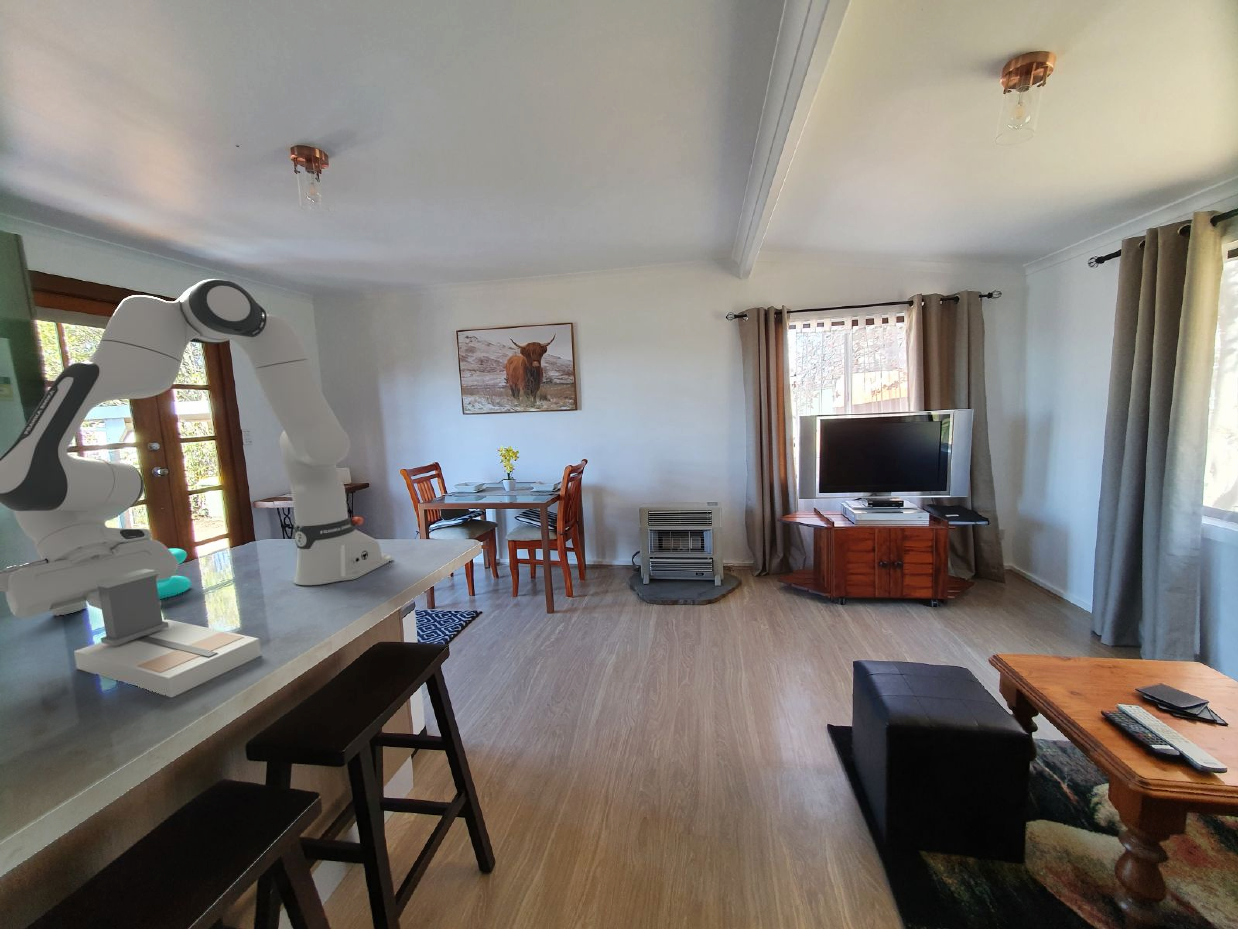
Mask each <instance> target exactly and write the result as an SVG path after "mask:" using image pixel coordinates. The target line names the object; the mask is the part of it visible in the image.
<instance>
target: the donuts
mask: <svg viewBox="0 0 1238 929" xmlns="http://www.w3.org/2000/svg"><path fill="white" fill-rule="evenodd" d="M168 549H169V550H170V552H171V553H172V554H173V555H174V556H175V558H176V559H177V561H178V566H179V565H181V564H182V563H183V562H184V561H185V560H186V559H187V556H188V553H187V551H186V550H184V549H181V548H176V547H175V548H168ZM156 583H157V590H158V596H159V599H160V600H164V598H165V599H168V598H167V597H169V598H171V596H172V597H175V596H178V595H181V594H182V592H183V593H185V592H186V591H188V590H189V589H190V587H191V585H192V580H190V578H188V577H186V576H182V575H173V576H172V577H171V578H168V579H164V580H160V581H157V582H156ZM180 593H181V594H180ZM177 594H178V595H177Z"/></svg>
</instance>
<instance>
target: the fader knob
mask: <svg viewBox="0 0 1238 929" xmlns="http://www.w3.org/2000/svg"><path fill="white" fill-rule="evenodd" d="M155 575H156V570H150V569H142V570H138V571H134V572H131V573H127V574H123V575H119V576H115V577H111V578H107V579H103V580H99V581H96V586H98V591H99V597H100V602H101V608H102V609H101V613H102V614H101V615H102V619H103V620H102V621H103V624H104V630H105V636H104V637H103V636H102V637H100V642H101V643H104V644H108V645H112V646H117V645H119V644H122V643H125V642H128V641H131V640H133V639H136V638H139V637H142V636H145V635H148V634H150V633H153V632H156V631H159V630H162V629H164V628H167V627H169V625H168V622H163V621H164V620H163V616H162V611H161V609H162V608H161V602H160V600H159V596H158V590H157V583H156V577H155Z"/></svg>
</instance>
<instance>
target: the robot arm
mask: <svg viewBox="0 0 1238 929" xmlns="http://www.w3.org/2000/svg"><path fill="white" fill-rule="evenodd" d="M105 326H106V327H105V329H104V331H103V333H102V336H101V338H100V341H99V344H98V346H97V348H96V350H95V351H94V352H93V353H92V354H91V355H90V356H89V357H88V358H87V359H86V360H84V361H83V362H76V363H75V362H74V363H72V364H70V365H68V366H66V367H65V368H64V369H63V370H62V371H61V373H59V374H58V376H57V377H56V378H55V379H54V381H53V383H52V384H51V385H50V387H49V388H48V390H47V391H46V393H45V394H44V396H43V398H42V399H41V401H40V402H39V404H38V405H37V406H36V408H35V410H34V411H33V413H32V414H31V416H30V417H29V420H28V421H27V423H26V424H25V425H24V427H23V429H22V430H21V432H20V433H19V435H18V437H17V438H16V440H15V441H14V442H13V444H12V445H10V448H9V449H7V451H6V452H5V453H4V454H3V455H1V457H0V503H1V504H2V505H3V506H5V507H6V508H8V509H10V510H12V511H13V514H14V517H15V519H16V521H17V524H18V525H19V527H20V528H21V530H22V531H23V533H24V534H25V536H26V537H28V538H29V539H31V540H33V542H34V548H35V551H36V552H37V554H38V556H39V557H40V560H35V561H30V562H27V563H23V564H18V565H11V566H6V567H4V568H3V569H2V570H1V571H0V591H1V592H4V593H5V597H6V601H7V604H8V607H9V609H10V612H11V613H12V615H13V616H15V617H18V618H22V619H26V618H30V617H33V616H37V615H41V614H46V613H48V612H52V610H56V609H60V608H63V607H67V606H70V605H74V604H78V603H81V602H85V601H86V603H87V604H88V605H89V606H91V607H94V608H97V609H100V610H102V608H101V602H100V597H99V591H98V586H96V581H99V580H103V579H107V578H111V577H115V576H119V575H123V574H127V573H131V572H134V571H138V570H142V569H150V570H156V575H155V577H156V582H157V581H160V580H164V579H168V578H171V577H172V576H175V573H176V572H177V569H178V567H179V565H178V561H177V559H176V558H175V556H174V555H173V554H172V553H171V552H170V550H169V549H170V548H168V547H167V546H166V545H165V544H164V543H162V542H161V541H159V540H156V539H152V536H153V533H152V532H151V530H149V529H148V528H123V527H122V528H120V527H119V528H118V527H108V526H107V525H106V522H107V521H111V520H113V519H115V518H117V517H118V516H120V515H121V514H123V513H124V512H126V511H127V510H129V509H130V508H132V506H134V505H135V504H136V503H138V501H139V500H140V499H141V498H142V496H143V493H144V489H145V487H144V486H145V484H144V480H143V479H144V478H143V476H142V474H141V473H140V471H139V470H138V469H137V468H136V467H135V466H133V465H131V464H129V463H124V462H119V461H114V460H113V461H112V460H108V459H107V460H106V459H100V458H91V457H84V456H78V455H71V454H68V448H69V446H70V445H71V443H72V442H73V440H74V438H75V436H76V434H77V432H78V431H79V429H80V428H81V426H82V424H83V422H84V421H85V420H86V418H87V416H88V414H89V413H90V411H92V410H93V409H94V408H95V407H96V406H98V405H100V404H103V403H106V402H109V401H117V400H134V399H135V400H136V399H137V400H139V399H146V398H151V397H155V396H158V395H160V394H163V393H165V392H166V391H168V390H169V389H171V387H172V386H173V385H174V383H175V382H176V380H177V378H178V375H179V372H180V369H181V364H182V362H183V357H184V354H185V350H186V348H187V347H188V345H189V343H197V344H204V345H205V344H206V345H207V344H208V345H216V344H221V343H225V342H227V341H230V340H232V341H233V342H234V343H236V344H237V345H238V346H240V348H241V349H242V350H243V351H244V353H245V354H246V355H247V357H248V360H249V363H250V365H251V369H252V370H253V372H254V373H253V374H254V375H255V378H256V379H257V382H258V385H259V387H260V389H261V391H262V394H263V396H264V399H265V401H266V403H267V405H268V407H270V408H271V410H272V411H273V413H274V415H275V417H276V418H277V419H278V422H279V423H280V425H281V427H282V428H283V429H282V430H283V431H282V433H281V434H280V437H279V441H278V443H279V447H280V451H281V458H282V461H283V465H284V470H285V473H286V478H287V481H288V483H289V487H290V492H291V498H292V505H293V514H294V524H293V534H294V540H295V544H296V548H297V549H296V551H297V555H296V556H297V557H296V569H295V575H294V578H293V583H294V584H295V585H299V586H317V585H325V584H329V583H330V584H331V583H336V582H340V581H341V582H342V581H351V580H355V579H358V578H360V577H362V576H364V575H366V574H368V573H370V572H371V571H375V570H376V569H377V568H380V567H382V566H384V565H386V564H388V563H389V561H390V562H392V556H391V555H388V554H384V553H382V550H381V546H380V543H379V542H378V540H377V539H375V538H374V537H371V536H369V535H368V534H365V533H363V532H362V531H359V530H357V528H356V526H355V525H359V526H360V525H362V524H363V523H364V518H363V517H362V516H354V517H350V516H349V515H348V506H347V505H348V504H347V495H346V488H345V485H344V483H343V481H342V478H341V476H340V472H339V471H338V470H339V469H338V467H337V464H338V463H340V462H341V461H342V460H344V459H345V458H346V457H347V456H348V454H349V452H350V450H351V449H350V448H351V440H350V437H349V435H348V433H347V432H346V431H345V430H344V429H343V427H342V426H341V424H340V422H339V420H338V419H337V417H336V415H335V413H334V411H333V410H332V408H331V407H330V405H329V403H328V401H327V400H326V398H325V396H324V394H323V392H322V390H321V388H320V385H319V383H318V381H317V378H316V375H315V373H314V370H313V367H312V365H311V361H310V360H309V357H308V354H307V352H306V350H305V348H304V346H303V344H302V342H301V340H300V339H299V336H298V334H297V333H296V331H295V330H294V328H293V327H292V325H291V324H290V322H288V321H287V320H286V319H285V318H284V317H281V316H278V315H273V314H267V312H266V310H265V309H264V308H263V307H262V306H261V305H260V304H259V303H258V302H256V300H255V299H254V297H253V296H252V295H251V294H250V293H249V292H248V291H247V290H245V288H243V287H242V286H240V285H239V284H237V283H235V282H232V281H229V280H225V279H220V278H211V279H205V280H202V281H199V282H197V283H196V284H195V285H193V286H191V287H189V288H188V289H187V290H185V291H184V292H183V293H182V295H181V296H180V297H178V298H177V299H176V300H175V301H166V300H164V299H161V298H158V297H154V296H151V295H144V294H143V295H140V294H139V295H137V294H136V295H131V296H128V297H126V298H124V299H123V300H122V301H121V302H120V303H119V305H118V306H117V307H116V309H115V310H114V312H113V314H112V315H111V317H110V319H109V320H108V322H107V324H106V325H105Z"/></svg>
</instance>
